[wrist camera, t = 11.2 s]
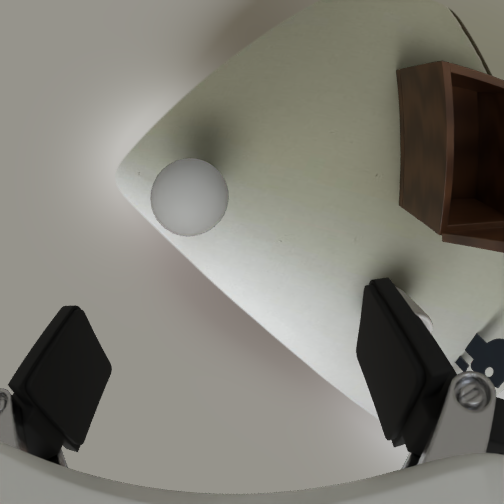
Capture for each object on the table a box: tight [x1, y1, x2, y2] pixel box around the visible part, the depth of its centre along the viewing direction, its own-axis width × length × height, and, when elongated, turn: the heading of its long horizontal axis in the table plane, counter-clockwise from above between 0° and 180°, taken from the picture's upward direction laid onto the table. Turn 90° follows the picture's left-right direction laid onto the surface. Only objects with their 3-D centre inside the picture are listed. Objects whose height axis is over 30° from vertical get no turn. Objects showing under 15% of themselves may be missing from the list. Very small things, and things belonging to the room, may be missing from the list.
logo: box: [455, 334, 504, 388], centre depth 38 cm, size 17×18×11 cm
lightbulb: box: [151, 158, 229, 236], centre depth 25 cm, size 6×6×11 cm
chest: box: [396, 61, 504, 235], centre depth 23 cm, size 16×13×9 cm
